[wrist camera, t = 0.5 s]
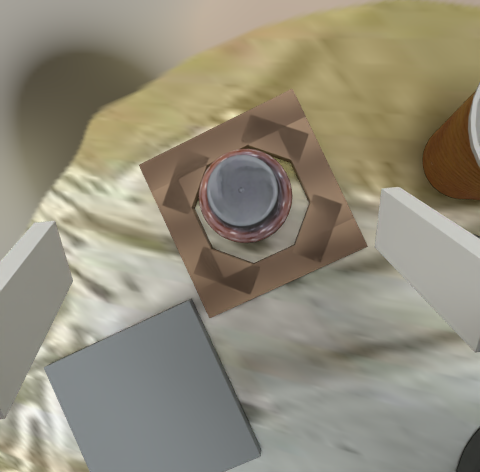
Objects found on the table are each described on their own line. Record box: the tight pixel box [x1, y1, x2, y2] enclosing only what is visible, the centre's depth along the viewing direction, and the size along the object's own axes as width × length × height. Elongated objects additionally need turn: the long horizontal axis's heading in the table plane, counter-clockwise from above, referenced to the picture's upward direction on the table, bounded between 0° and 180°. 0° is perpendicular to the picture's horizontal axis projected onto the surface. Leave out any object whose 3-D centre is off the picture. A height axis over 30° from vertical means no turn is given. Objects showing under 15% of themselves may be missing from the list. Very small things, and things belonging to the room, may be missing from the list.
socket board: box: [139, 89, 368, 318], centre depth 31 cm, size 14×14×1 cm
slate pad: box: [44, 299, 261, 472], centre depth 32 cm, size 14×14×1 cm
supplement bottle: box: [199, 149, 292, 243], centre depth 26 cm, size 6×6×11 cm
